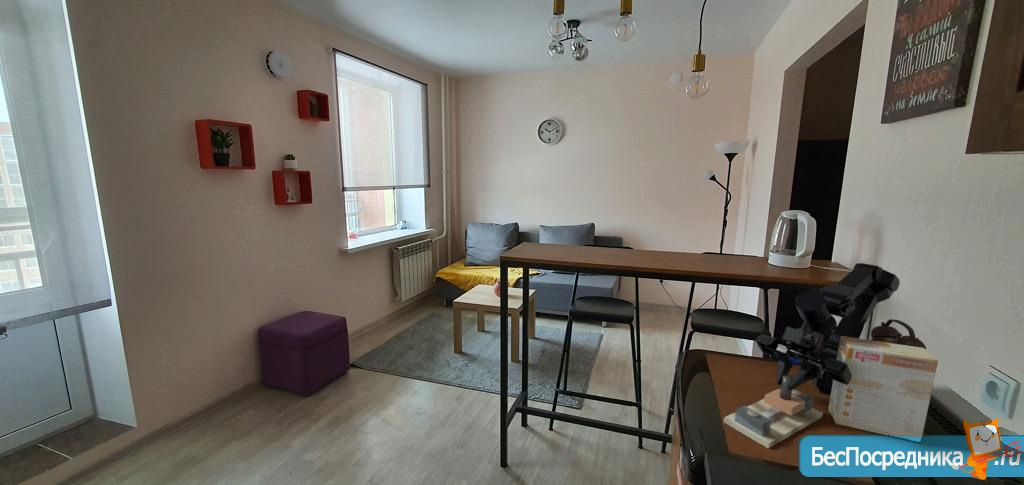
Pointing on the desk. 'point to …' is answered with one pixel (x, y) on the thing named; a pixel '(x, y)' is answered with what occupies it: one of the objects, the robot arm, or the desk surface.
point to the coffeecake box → (883, 387)
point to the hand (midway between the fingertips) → (783, 386)
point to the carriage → (785, 398)
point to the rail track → (772, 420)
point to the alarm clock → (895, 335)
